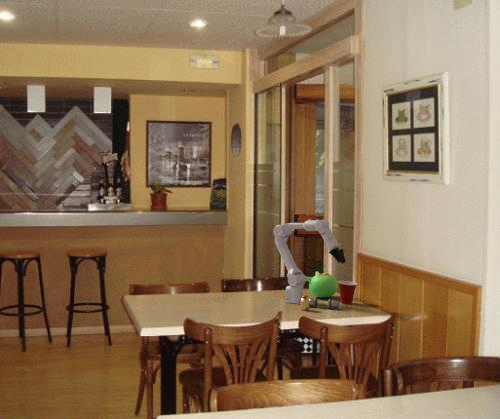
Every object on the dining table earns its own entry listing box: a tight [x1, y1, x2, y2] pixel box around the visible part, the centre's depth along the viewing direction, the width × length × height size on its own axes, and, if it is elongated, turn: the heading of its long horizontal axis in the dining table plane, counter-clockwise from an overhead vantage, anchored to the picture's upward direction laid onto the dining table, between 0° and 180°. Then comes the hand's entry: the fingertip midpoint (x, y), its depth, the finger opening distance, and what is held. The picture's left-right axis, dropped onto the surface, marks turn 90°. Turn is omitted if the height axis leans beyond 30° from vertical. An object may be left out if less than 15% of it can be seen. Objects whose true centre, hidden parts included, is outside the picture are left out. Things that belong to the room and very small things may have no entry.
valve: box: [300, 294, 310, 312], centre depth 377 cm, size 4×4×8 cm
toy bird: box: [306, 271, 339, 299], centre depth 415 cm, size 18×17×15 cm
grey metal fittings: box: [308, 297, 340, 311], centre depth 384 cm, size 17×6×5 cm, turn 70°
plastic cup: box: [337, 280, 358, 305], centre depth 399 cm, size 11×11×12 cm
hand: (342, 262), depth 380 cm, fingers open, 7 cm apart
